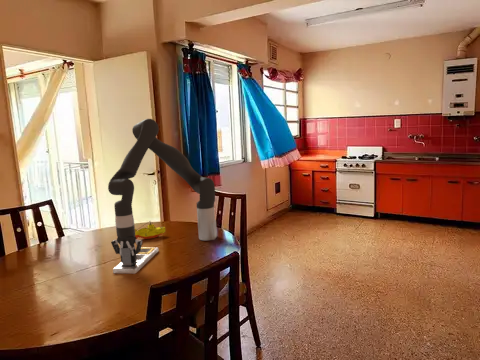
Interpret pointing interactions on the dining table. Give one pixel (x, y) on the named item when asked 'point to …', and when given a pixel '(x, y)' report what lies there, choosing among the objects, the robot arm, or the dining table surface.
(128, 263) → the peg
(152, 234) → the toy boat
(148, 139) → the robot arm
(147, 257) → the rail
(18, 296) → the dining table surface
